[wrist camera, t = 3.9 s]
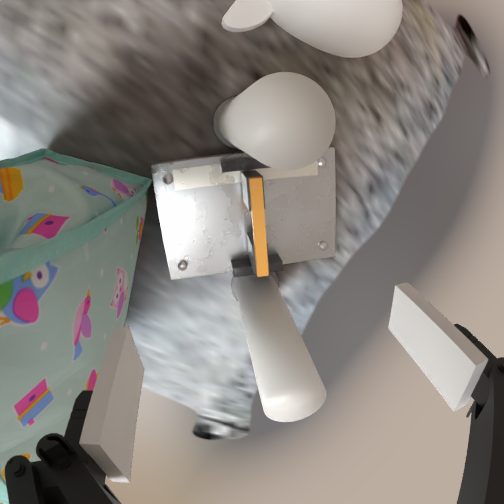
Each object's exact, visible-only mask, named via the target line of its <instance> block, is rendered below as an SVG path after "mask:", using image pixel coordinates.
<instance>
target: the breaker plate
mask: <svg viewBox="0 0 504 504" xmlns="http://www.w3.org/2000/svg"><path fill="white" fill-rule="evenodd" d="M253 170H256V171H257V172H258V173H260V174H261V175H262V176H263V183H264V197H265V209H264V213H265V227H266V241H267V243H268V255H269V270H270V272H277V271H283V264H288V263H295V262H302V261H308V260H315V259H322V258H328V257H335V241H336V175H335V147H331V146H329V147H328V149H327V150H326V152H325V153H324V154H323V155H322V156H321V157H320V158H319V159H318V160H316V161H315V162H314V163H312V164H310V165H308V166H306V167H303V168H300V169H295V170H279V169H275V168H271V167H269V166H266V165H264V164H263V163H261V162H259V161H258V160H256V159H255V158H253V157H251V156H250V155H248V154H247V153H245V152H234V153H225V154H216V155H208V156H200V157H193V158H186V159H179V160H172V161H166V162H159V163H154V164H153V165H151V171H152V177H153V184H154V190H155V197H156V203H157V209H158V215H159V220H160V226H161V231H162V237H163V242H164V247H165V252H166V257H167V262H168V267H169V272H170V276H171V280H173V279H181V278H188V277H196V276H203V275H210V274H218V273H225V272H233V277H234V278H235V277H242V276H249V275H256V274H254V271H253V269H252V266H251V263H250V260H249V255H248V244H247V234H246V232H253V228H252V216H251V211H249V210H248V208H247V206H246V204H245V203H244V201H243V190H242V179H241V172H243V171H253ZM270 272H269V273H270Z"/></svg>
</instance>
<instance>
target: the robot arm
mask: <svg viewBox="0 0 504 504" xmlns="http://www.w3.org/2000/svg"><path fill="white" fill-rule="evenodd" d="M388 329H389V330H390V331H391V332H392V334H393V335H394V336H395V337H396V338H397V340H398V341H399V342H400V343H401V345H402V346H403V347H404V348H405V349H406V351H407V352H408V353H409V355H410V356H411V357H412V358H413V359H414V361H415V362H416V363H417V365H418V366H419V367H420V368H421V370H422V371H423V372H424V373H425V375H426V376H427V377H428V378H429V380H430V381H431V383H432V384H433V385H434V386H435V388H436V389H437V390H438V392H439V393H440V394H441V396H442V397H443V398H444V400H445V401H446V402H447V403H448V405H449V406H450V408H451V409H452V410H453V411H456V410H458V409H460V408H462V407H464V406H465V405H466V404H467V403H468V401H469V399H470V397H472V398H473V399H474V400H475V401H474V402H473V404H472V406H471V408H470V410H469V411H468V413H467V416H466V417H469V415H470V413H471V412H472V415H471V426H470V434H469V443H468V449H467V456H466V462H465V468H464V473H463V479H462V483H461V488H460V492H459V497H458V501H457V504H504V358H498V359H497V358H496V357H495V356H494V355H493V354H492V353H491V352H490V351H489V350H488V349H487V348H486V347H485V346H484V345H483V344H482V343H481V342H480V341H478V339H477V338H476V337H474V336H473V335H472V334H471V333H470V332H469V331H468V330H467V329H466V328H464V327H462V326H461V325H459V324H455V325H453V324H452V323H451V322H450V321H449V320H448V319H447V318H446V317H444V315H443V314H441V313H440V312H439V311H438V310H437V309H436V308H435V307H434V306H433V305H432V304H431V303H430V302H428V301H427V300H426V299H425V298H424V297H423V296H422V295H421V294H420V293H419V292H417V291H416V290H415V289H414V288H413V287H412V286H411V285H409V284H408V283H402V284H398V285H395V291H394V298H393V304H392V310H391V316H390V322H389V327H388ZM143 375H144V367H143V364H142V362H141V359H140V356H139V354H138V351H137V348H136V346H135V343H134V340H133V337H132V334H131V331H130V329H129V326H126V327H115V328H114V329H113V331H112V334H111V337H110V340H109V343H108V346H107V349H106V352H105V355H104V358H103V361H102V364H101V367H100V370H99V373H98V377H97V380H96V383H95V386H94V390H82V392H81V393H80V394H79V395H78V397H77V398H76V399H75V402H74V405H73V408H72V409H73V411H72V412H71V415H70V419H69V421H68V425H67V428H66V431H65V435H64V437H63V436H62V435H60V434H58V433H50V434H47V435H45V436H43V437H42V438H41V439H40V440H39V442H38V443H37V446H36V454H37V456H38V457H39V458H40V459H41V461H35V462H30V461H29V460H28V459H27V458H26V457H25V456H22V455H16V456H13V457H11V458H10V459H9V460H8V461H7V463H6V465H5V479H6V487H7V493H8V500H9V504H121V503H120V501H119V500H118V499H117V498H116V497H115V495H114V494H113V493H112V491H111V490H110V489H109V487H108V486H107V485H106V484H105V478H106V476H107V477H108V478H109V479H110V480H111V481H113V482H130V478H131V468H132V457H133V448H134V439H135V431H136V422H137V414H138V408H139V401H140V394H141V388H142V381H143Z"/></svg>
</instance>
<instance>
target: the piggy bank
mask: <svg viewBox="0 0 504 504" xmlns="http://www.w3.org/2000/svg"><path fill="white" fill-rule="evenodd" d="M402 11H403V6H402V0H236V1H235V2H234V3H233V4H232V6H231V7H230V8H229V10H228V11H227V12H226V14H225V15H224V16H223V18H222V26H223V28H224V29H226V30H227V31H230V32H245V31H249V30H253V29H255V28H257V27H259V26H261V25H262V24H264V23H265V22H266V21H267V20H268V19H269V17H270V18H271V19H272V20H273V21H274V22H275V23H276V24H277V25H278V26H279V27H281V28H282V29H283V30H285V31H286V32H288V33H289V34H291V35H292V36H294V37H296V38H297V39H299V40H301V41H303V42H305V43H306V44H308V45H310V46H312V47H314V48H317V49H319V50H321V51H324V52H326V53H329V54H332V55H336V56H340V57H347V58H358V57H364V56H368V55H370V54H373V53H375V52H377V51H379V50H380V49H382V48H383V47H384V46H385V45H386V44H388V43H389V42H390V40H391V39H392V38H393V37H394V35H395V34H396V32H397V30H398V28H399V25H400V22H401V19H402Z"/></svg>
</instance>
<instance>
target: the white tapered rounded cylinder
mask: <svg viewBox="0 0 504 504" xmlns="http://www.w3.org/2000/svg"><path fill="white" fill-rule="evenodd" d="M231 287H232V292H233V295H234V297H235V299H236V300H237V301H238V303H239V308H240V312H241V316H242V321H243V325H244V330H245V334H246V338H247V343H248V347H249V351H250V355H251V360H252V364H253V368H254V372H255V377H256V381H257V385H258V389H259V393H260V397H261V401H262V405H263V410H264V413H265V414H266V416H267V417H269V418H270V419H272V420H275V421H280V422H291V421H296V420H300V419H303V418H305V417H308V416H310V415H311V414H313V413H314V412H316V411H317V410H318V409H319V408H320V407H321V406H322V405H323V403H324V401H325V399H326V390H325V387H324V385H323V383H322V381H321V379H320V376H319V374H318V372H317V370H316V368H315V366H314V364H313V361H312V359H311V357H310V355H309V353H308V351H307V348H306V346H305V344H304V342H303V339H302V337H301V335H300V333H299V331H298V329H297V327H296V324H295V322H294V320H293V318H292V316H291V314H290V311H289V309H288V307H287V305H286V303H285V301H284V299H283V296H282V294H281V292H280V290H279V280H278V277H277V275H276V273H275V272H270V273H269V275H268V276H262V277H258V276H257V274H256V275H249V276H242V277H235V278H234V277H233V279H232V283H231Z"/></svg>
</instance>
